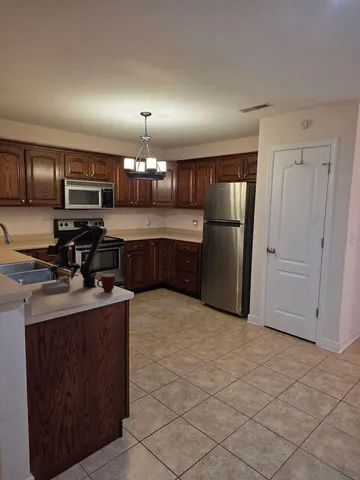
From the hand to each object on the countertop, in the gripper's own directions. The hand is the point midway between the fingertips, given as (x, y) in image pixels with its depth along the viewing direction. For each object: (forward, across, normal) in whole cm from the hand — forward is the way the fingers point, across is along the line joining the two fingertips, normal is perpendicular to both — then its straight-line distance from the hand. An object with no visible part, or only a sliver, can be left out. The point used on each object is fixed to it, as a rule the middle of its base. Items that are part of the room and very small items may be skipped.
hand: (64, 280), depth 200 cm
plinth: (+3, +9, +10) cm, 14 cm away
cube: (+3, 0, 0) cm, 3 cm away
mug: (+3, -14, +29) cm, 32 cm away
